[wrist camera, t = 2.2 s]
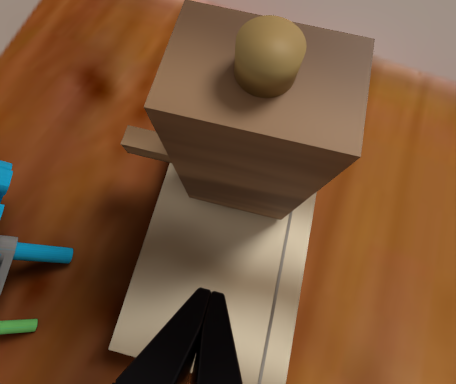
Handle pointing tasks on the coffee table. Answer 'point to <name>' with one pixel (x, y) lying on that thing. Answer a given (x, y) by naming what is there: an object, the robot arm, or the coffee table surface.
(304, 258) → the pine board
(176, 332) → the robot arm
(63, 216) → the coffee table surface
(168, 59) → the tan knobbed block
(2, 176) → the gear
